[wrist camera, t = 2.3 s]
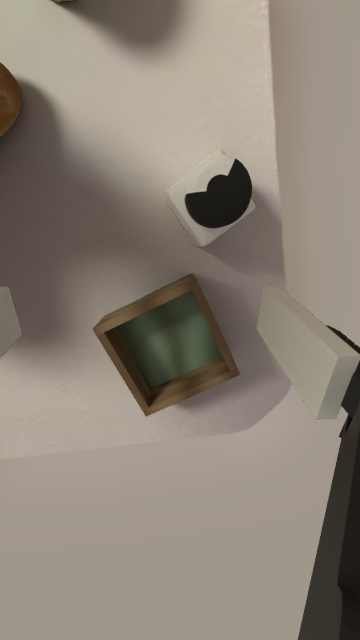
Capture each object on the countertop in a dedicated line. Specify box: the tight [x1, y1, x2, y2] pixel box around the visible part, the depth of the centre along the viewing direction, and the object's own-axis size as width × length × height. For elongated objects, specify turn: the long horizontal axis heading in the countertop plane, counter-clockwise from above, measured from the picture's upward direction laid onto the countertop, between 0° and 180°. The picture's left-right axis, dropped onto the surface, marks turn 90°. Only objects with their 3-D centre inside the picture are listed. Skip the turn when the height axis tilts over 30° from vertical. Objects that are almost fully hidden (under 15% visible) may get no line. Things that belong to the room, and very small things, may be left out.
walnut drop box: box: [93, 274, 240, 416], centre depth 37 cm, size 14×14×6 cm
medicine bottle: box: [166, 148, 256, 247], centre depth 29 cm, size 7×7×12 cm
